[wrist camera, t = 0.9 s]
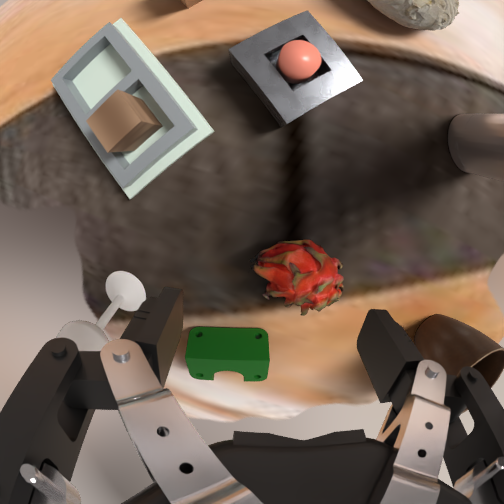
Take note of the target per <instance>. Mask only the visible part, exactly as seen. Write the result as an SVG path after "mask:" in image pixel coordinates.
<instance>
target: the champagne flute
mask: <svg viewBox="0 0 504 504" xmlns="http://www.w3.org/2000/svg"><path fill="white" fill-rule="evenodd" d="M106 292H107V295H108V297H109V298H110V300H111V301H112V303H111V304H110V305H109V307H108V308H107V309H106V311H105V312H104V313H103V315H102V316H101V317H100V319H99V320H98V321H97V323H96V324H93V323H90V322H87V321H72V322H69V323H67V324H65V325H64V327H63V328H62V329H61V331H60V332H59V334H58V336H57V337H56V338H61V337H62V338H68V339H71V340H73V341H74V342H75V343H76V345H77V347H78V350H79V351H101V349H102V348H103V346H104V345H105V344H107V343H108V342H109V340H108V338H107V337H106V335H105V334H104V332H103V329H104V328H105V326H106V325H107V323H108V322H109V321H110V319H111V318H112V316H113V315H114V313H115V312H116V311H117V309H118V308H121V309H123V310H126V311H136V310H138V308H139V307H140V305H141V304H142V302H144V301H145V300H146V293H145V289H144V287H143V285H142V283H141V282H140V281H139V279H138V278H136V277H135V276H134V275H132V274H131V273H128V272H125V271H116V272H113V273H112V274H110V275H109V276H108V278H107V280H106Z"/></svg>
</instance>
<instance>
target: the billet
mask: <svg viewBox="0 0 504 504" xmlns="http://www.w3.org/2000/svg"><path fill="white" fill-rule="evenodd" d="M86 122H87V123H88V125H89V126H90V128H91V129H92V131H93V132H94V134H95V135H96V137H97V138H98V140H99V141H100V142H101V144H102V145H103V147H104V148H105V150H106V151H107V153H110V152H124V151H135V150H136V149H137V148H138V147H139V146H141V145H142V144H143V143H144V142H145V141H146V140H147V139H148V138H150V137H151V136H152V135H153V134H154V133H156V132H157V131H158V130H159V129H160V128H161V127H163V126H162V124H161V123H160V122H159V120H158V119H157V118H156V116H155V115H154V114H153V112H152V111H151V110H150V108H149V107H148V106H147V105H146V103H145V102H144V101H143V100H142V99H140V98H138V97H135V96H133V95H131V94H128V93H126V92H123V91H121V90H118V89H117V90H116V91H115V92H114V93H113V94H112V95H111V96H110V97H109V98H108V99H107V100H106V101H105V102H104V103H103V104H102V105H101V106H100V107H99V108H98V109H97V110H96V111H95V112H94V113H93V114H92V115H91V116H90V117H89V118H88V119H87V120H86Z"/></svg>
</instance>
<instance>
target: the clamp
mask: <svg viewBox="0 0 504 504" xmlns="http://www.w3.org/2000/svg"><path fill="white" fill-rule="evenodd" d="M185 360H186V363H187V366H188V369H189V373H190V375H191V376H192V377H193V378H196V379H201V380H214V373H216V372H219V371H235V372H238V373H240V374H242V375H243V376H244V381H263V380H265V379H266V378H267V375H268V368H269V361H270V358H269V342H268V334H267V332H266V331H265V330H263V329H260V328H217V327H195V328H193V329H192V330H191V331H190V333H189V337H188V343H187V349H186V355H185Z"/></svg>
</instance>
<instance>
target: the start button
mask: <svg viewBox="0 0 504 504" xmlns="http://www.w3.org/2000/svg"><path fill="white" fill-rule="evenodd" d="M320 65H321V55H320V52H319V51H318V49H317V48H316V47H315V46H314V45H312V44H311V43H309V42H307V41H303V40H293V41H290V42H288V43H286V44H285V45H284V46H283V48H282V49H281V52H280V55H279V58H278V60H277V64H276V70H277V71H278V73H279V74H280V75H281V76H282V78H283V79H284V80H285V81H286V82H288V83H292V84H301V83H304V82H306V81H307V80H308V79H309V78H310V77H311V76H312V75H313V74H314V73H315V72H316V71H317V69H318V68H319V67H320Z"/></svg>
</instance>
